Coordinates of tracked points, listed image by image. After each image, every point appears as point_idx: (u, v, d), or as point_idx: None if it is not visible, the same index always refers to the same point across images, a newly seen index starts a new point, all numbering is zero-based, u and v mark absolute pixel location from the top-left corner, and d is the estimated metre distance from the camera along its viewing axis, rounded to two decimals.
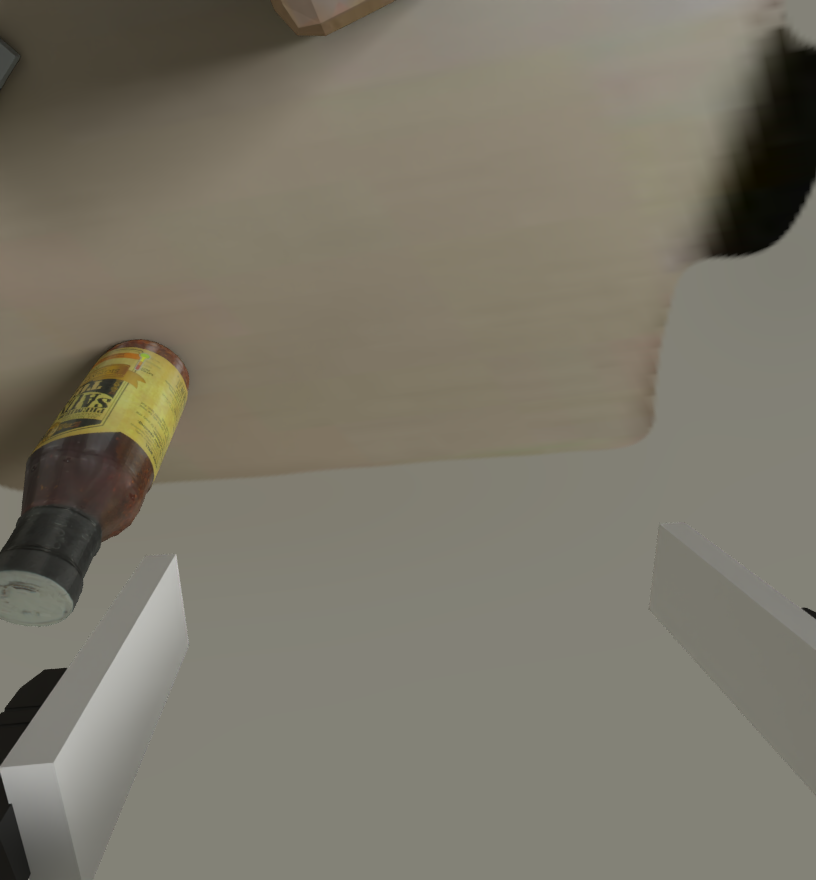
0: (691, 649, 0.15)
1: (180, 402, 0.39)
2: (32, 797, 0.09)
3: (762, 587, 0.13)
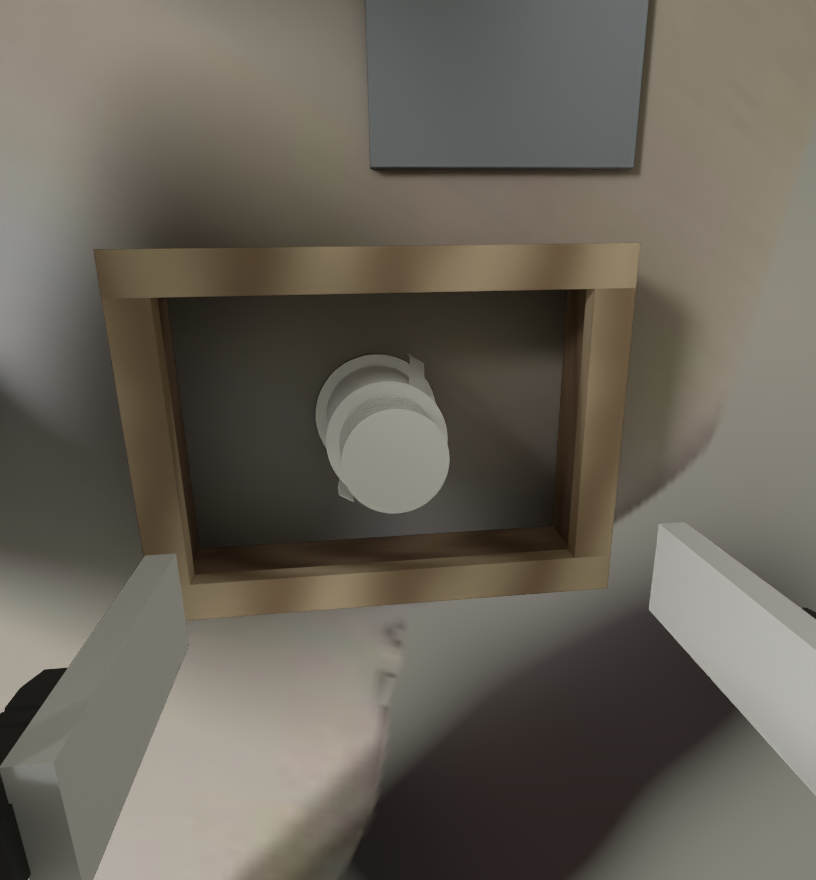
0: (691, 649, 0.15)
1: None
2: (32, 797, 0.09)
3: (762, 587, 0.13)
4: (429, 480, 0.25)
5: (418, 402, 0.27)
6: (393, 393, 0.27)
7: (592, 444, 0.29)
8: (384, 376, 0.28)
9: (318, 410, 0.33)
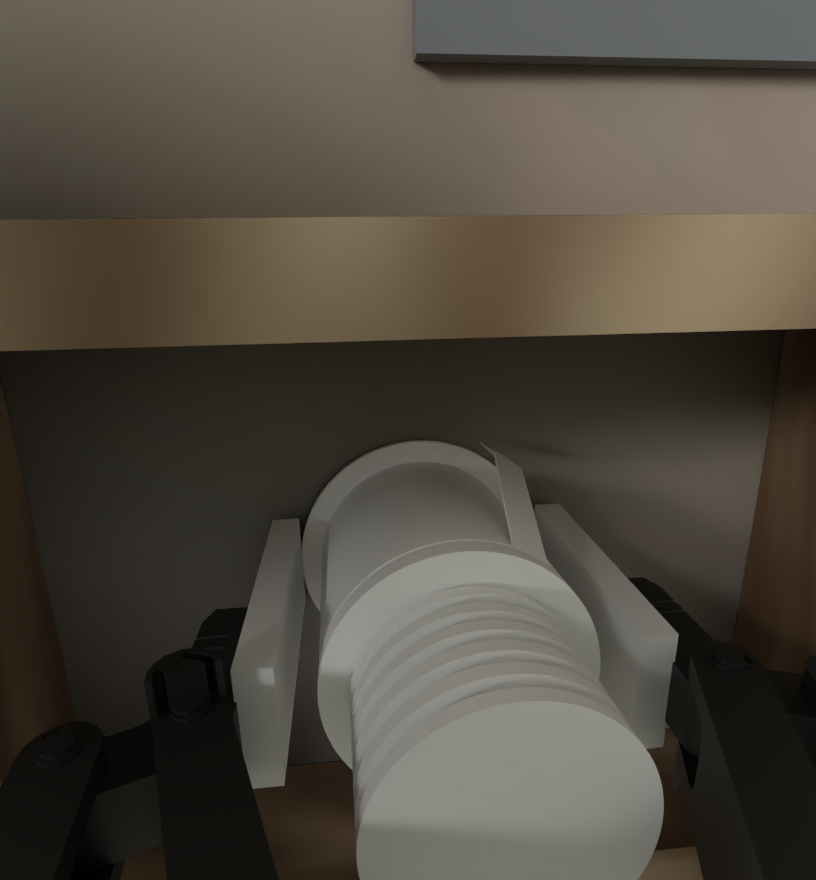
0: None
1: None
2: (253, 697, 0.11)
3: (599, 558, 0.14)
4: (603, 871, 0.09)
5: (538, 595, 0.11)
6: (480, 578, 0.11)
7: None
8: (450, 519, 0.13)
9: (306, 547, 0.17)
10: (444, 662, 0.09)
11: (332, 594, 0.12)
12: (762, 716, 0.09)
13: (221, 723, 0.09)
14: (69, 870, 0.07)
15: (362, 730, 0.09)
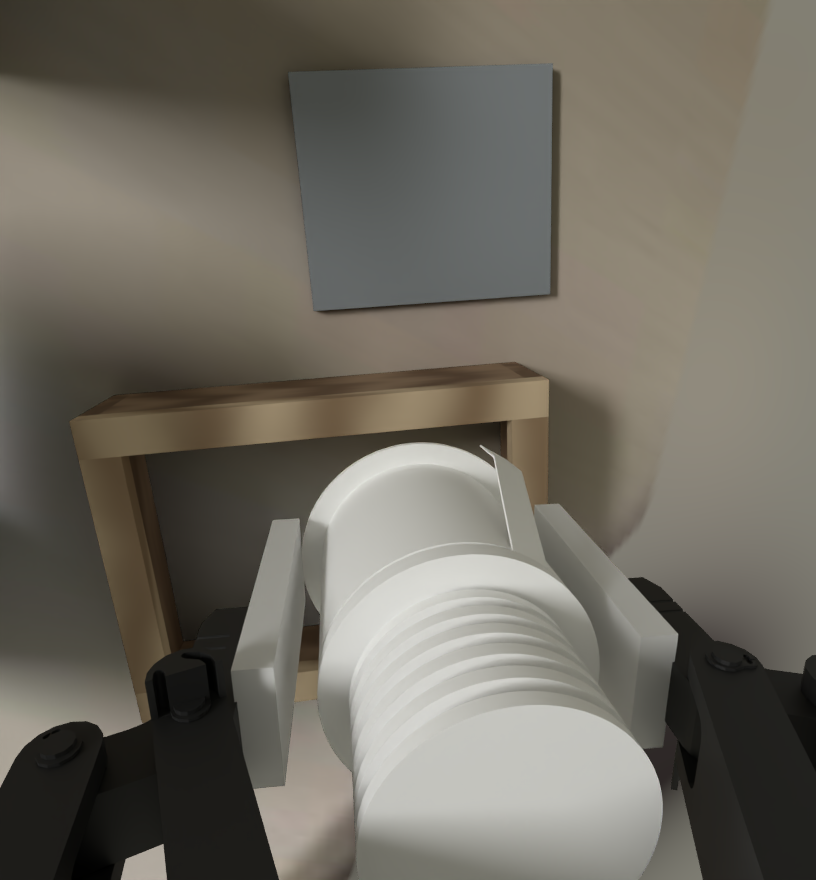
0: None
1: None
2: (253, 697, 0.11)
3: (599, 558, 0.14)
4: (602, 874, 0.09)
5: (537, 598, 0.11)
6: (480, 581, 0.11)
7: None
8: (450, 522, 0.13)
9: (306, 549, 0.17)
10: (444, 665, 0.09)
11: (332, 597, 0.13)
12: (762, 716, 0.09)
13: (221, 723, 0.09)
14: (69, 870, 0.07)
15: (362, 733, 0.09)
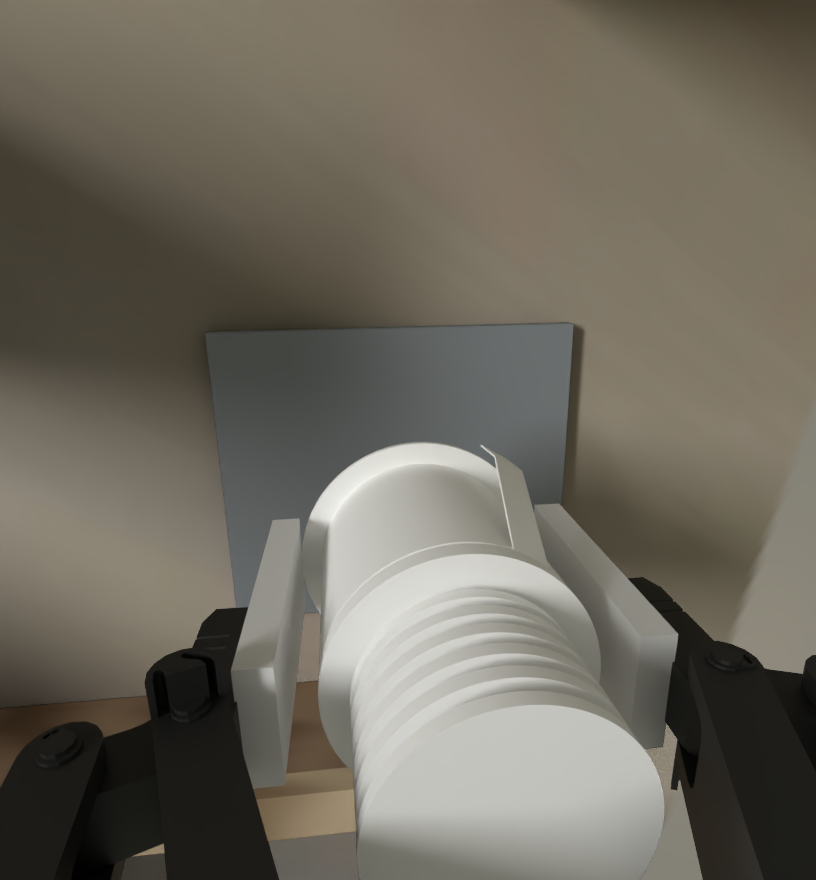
0: None
1: None
2: (253, 696, 0.11)
3: (599, 558, 0.14)
4: (604, 874, 0.09)
5: (538, 598, 0.11)
6: (481, 581, 0.11)
7: None
8: (451, 522, 0.13)
9: (306, 549, 0.17)
10: (445, 665, 0.09)
11: (333, 596, 0.13)
12: (762, 716, 0.09)
13: (222, 722, 0.09)
14: (69, 870, 0.07)
15: (363, 733, 0.09)
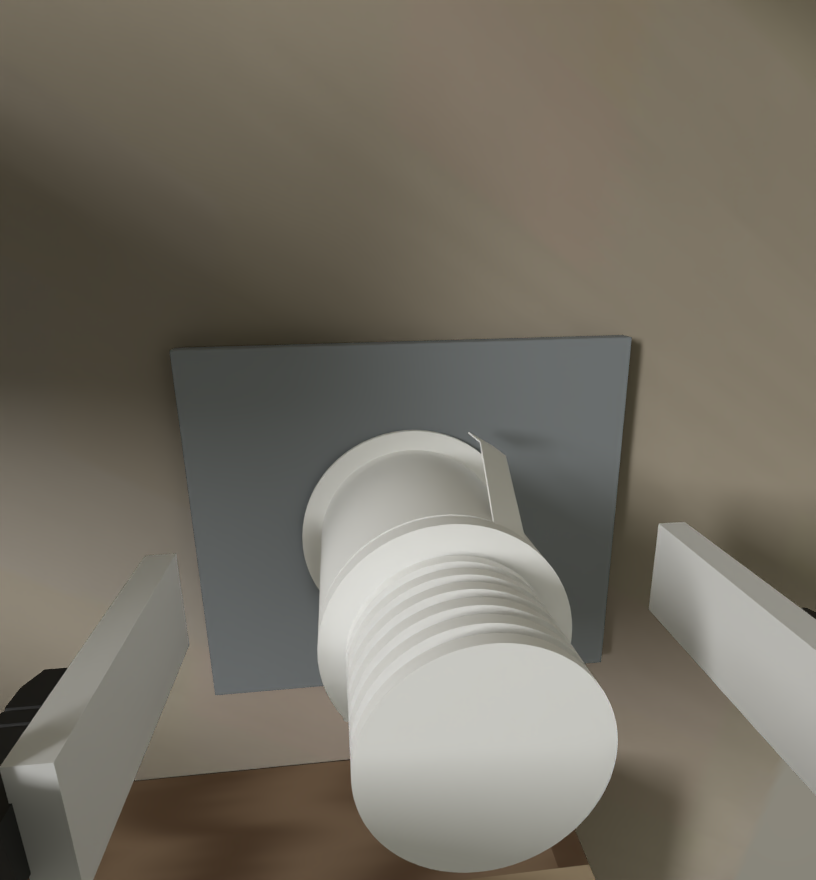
0: (691, 649, 0.15)
1: None
2: (32, 797, 0.09)
3: (762, 587, 0.13)
4: (566, 797, 0.10)
5: (515, 565, 0.13)
6: (463, 548, 0.12)
7: None
8: (438, 498, 0.14)
9: (306, 529, 0.18)
10: (428, 615, 0.10)
11: (331, 565, 0.14)
12: None
13: None
14: None
15: (357, 676, 0.11)
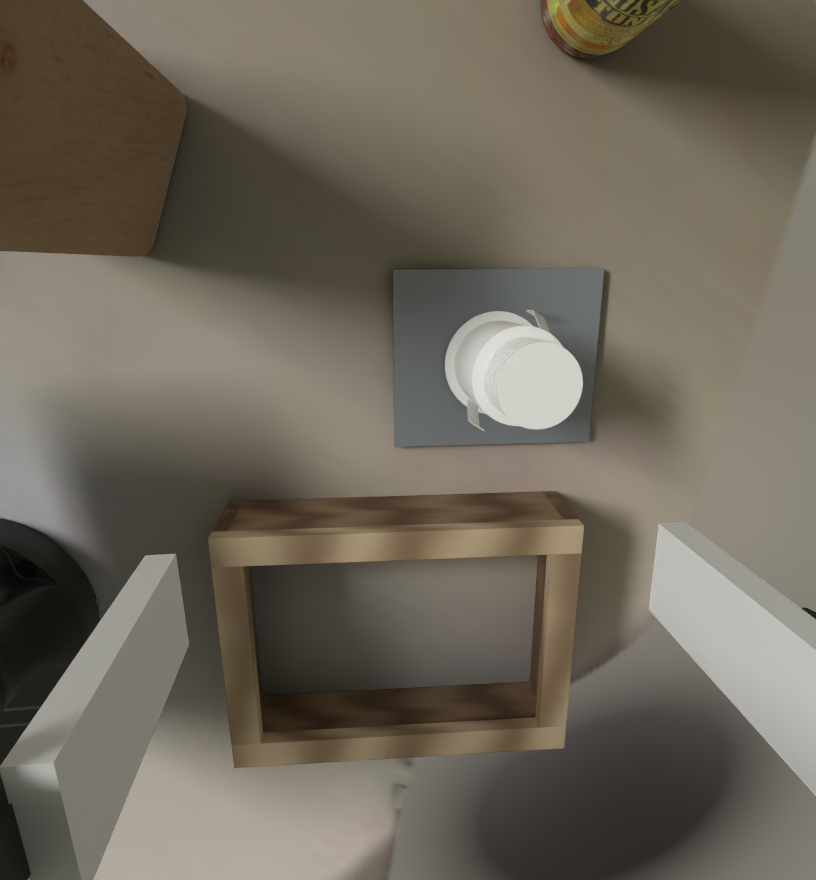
0: (691, 649, 0.15)
1: None
2: (32, 797, 0.09)
3: (762, 587, 0.13)
4: (565, 402, 0.30)
5: None
6: (529, 336, 0.33)
7: (551, 652, 0.40)
8: (517, 324, 0.34)
9: (447, 358, 0.39)
10: (520, 342, 0.31)
11: (473, 350, 0.34)
12: None
13: None
14: None
15: (494, 366, 0.31)
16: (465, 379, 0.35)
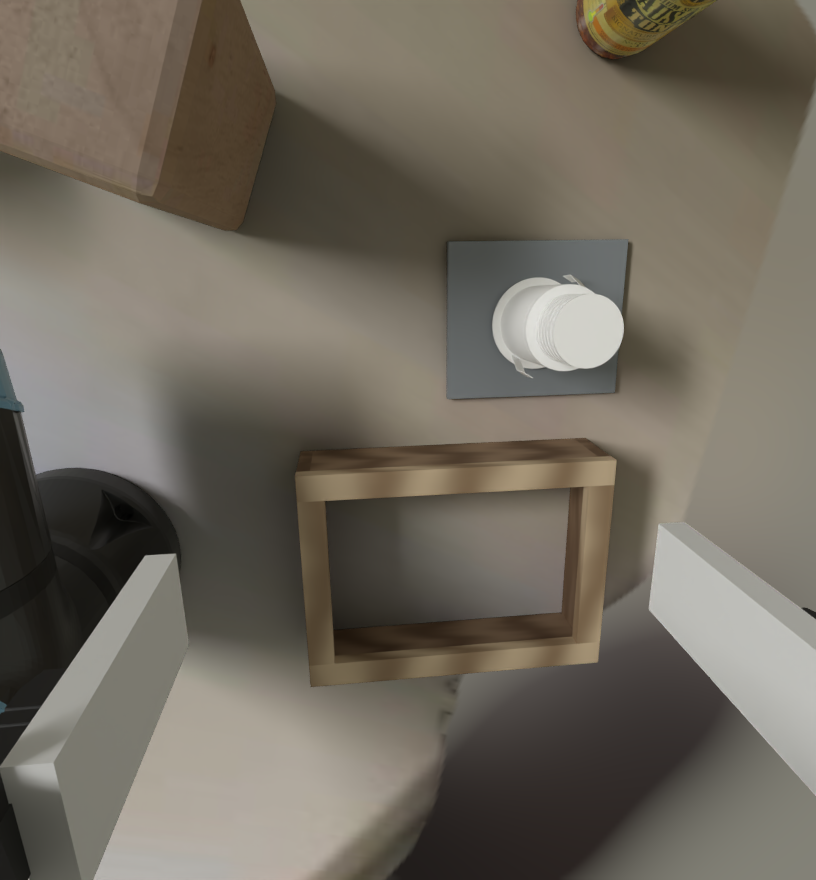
0: (691, 649, 0.15)
1: None
2: (32, 797, 0.09)
3: (762, 587, 0.13)
4: (609, 345, 0.36)
5: None
6: (573, 293, 0.39)
7: (587, 575, 0.46)
8: None
9: (494, 319, 0.45)
10: (570, 296, 0.37)
11: (524, 307, 0.40)
12: None
13: None
14: None
15: (549, 316, 0.37)
16: (516, 333, 0.41)
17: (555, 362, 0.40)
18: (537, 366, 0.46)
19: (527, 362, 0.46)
